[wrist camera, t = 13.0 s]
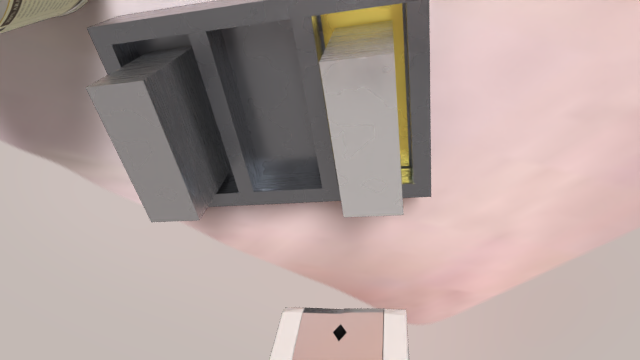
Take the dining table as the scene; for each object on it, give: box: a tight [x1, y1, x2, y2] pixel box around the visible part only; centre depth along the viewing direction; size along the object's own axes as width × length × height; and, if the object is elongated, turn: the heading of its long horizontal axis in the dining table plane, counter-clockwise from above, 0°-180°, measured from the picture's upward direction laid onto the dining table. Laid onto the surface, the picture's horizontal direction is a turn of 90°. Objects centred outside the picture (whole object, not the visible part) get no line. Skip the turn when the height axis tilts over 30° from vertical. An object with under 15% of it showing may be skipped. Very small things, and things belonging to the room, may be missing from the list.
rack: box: [86, 0, 431, 222], centre depth 22 cm, size 18×12×7 cm
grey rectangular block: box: [319, 21, 403, 217], centre depth 20 cm, size 3×8×6 cm, turn 9°
